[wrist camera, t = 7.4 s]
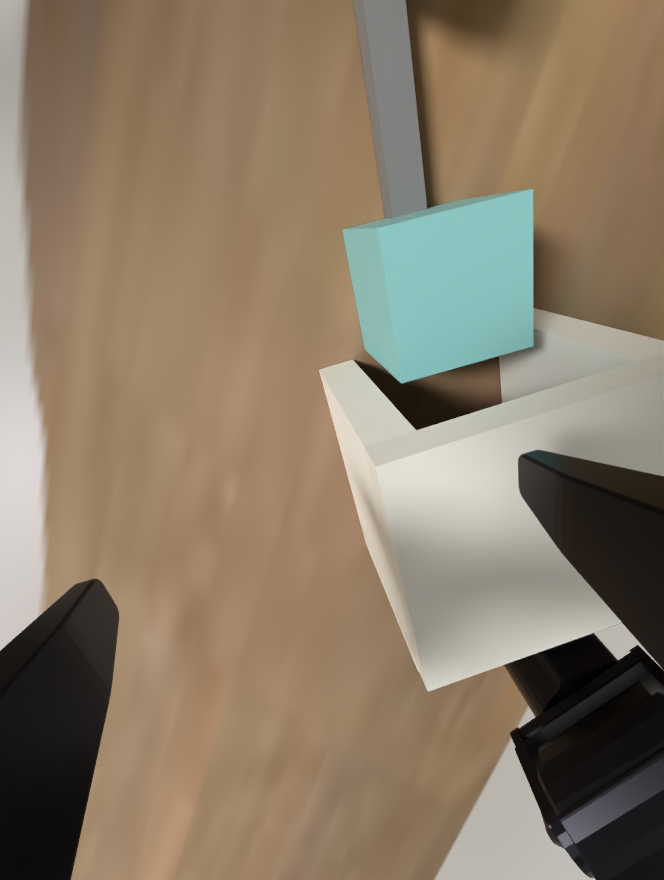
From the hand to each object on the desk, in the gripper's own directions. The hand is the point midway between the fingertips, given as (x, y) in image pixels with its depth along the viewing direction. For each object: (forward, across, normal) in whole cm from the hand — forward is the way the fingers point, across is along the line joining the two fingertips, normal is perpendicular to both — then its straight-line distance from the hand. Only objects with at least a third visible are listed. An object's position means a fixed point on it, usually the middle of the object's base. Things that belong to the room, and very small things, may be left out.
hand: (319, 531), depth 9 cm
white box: (+12, -7, +5) cm, 15 cm away
